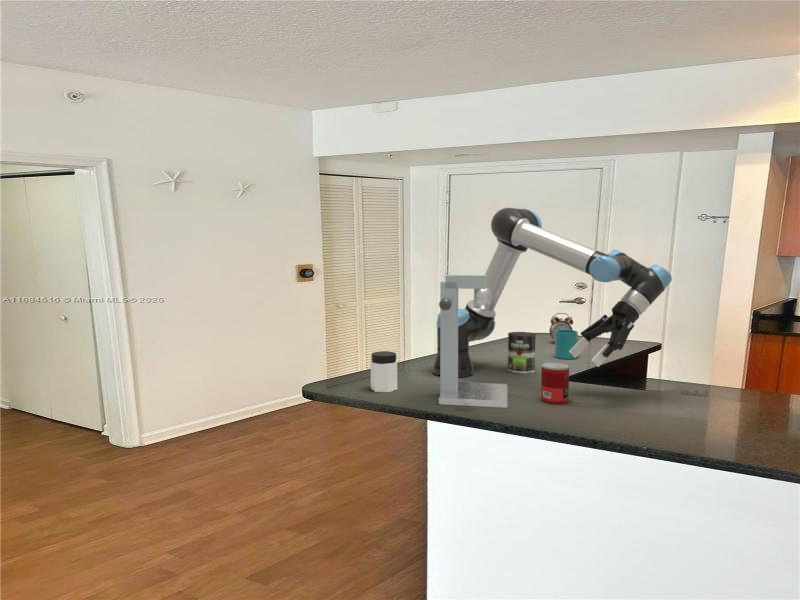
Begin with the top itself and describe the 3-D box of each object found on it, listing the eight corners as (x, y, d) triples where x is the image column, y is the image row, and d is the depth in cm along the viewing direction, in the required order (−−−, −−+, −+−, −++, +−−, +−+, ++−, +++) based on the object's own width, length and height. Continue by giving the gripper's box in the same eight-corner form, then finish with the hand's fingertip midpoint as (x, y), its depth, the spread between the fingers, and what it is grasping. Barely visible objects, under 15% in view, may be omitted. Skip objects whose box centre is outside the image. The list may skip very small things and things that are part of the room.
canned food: (569, 405, 159) (570, 368, 158) (541, 403, 161) (542, 367, 159) (567, 398, 166) (567, 362, 165) (540, 396, 168) (540, 362, 167)
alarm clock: (549, 344, 259) (550, 313, 258) (548, 342, 264) (549, 312, 263) (573, 344, 258) (574, 313, 256) (571, 343, 262) (572, 312, 261)
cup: (586, 357, 228) (586, 331, 227) (567, 360, 222) (568, 333, 220) (568, 353, 236) (569, 328, 235) (550, 357, 229) (550, 330, 228)
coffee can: (533, 374, 198) (533, 336, 196) (505, 372, 201) (505, 334, 200) (537, 368, 207) (537, 332, 206) (510, 366, 211) (510, 331, 210)
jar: (400, 391, 175) (400, 355, 174) (376, 393, 172) (376, 356, 171) (391, 384, 184) (391, 350, 182) (368, 387, 181) (368, 351, 180)
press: (445, 387, 180) (445, 273, 176) (507, 390, 176) (509, 273, 172) (435, 406, 158) (435, 277, 154) (507, 410, 154) (509, 277, 150)
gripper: (664, 321, 153) (613, 376, 152) (614, 312, 177) (571, 359, 176) (647, 303, 151) (596, 358, 150) (600, 296, 176) (556, 343, 175)
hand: (582, 359), depth 163 cm, fingers open, 13 cm apart
